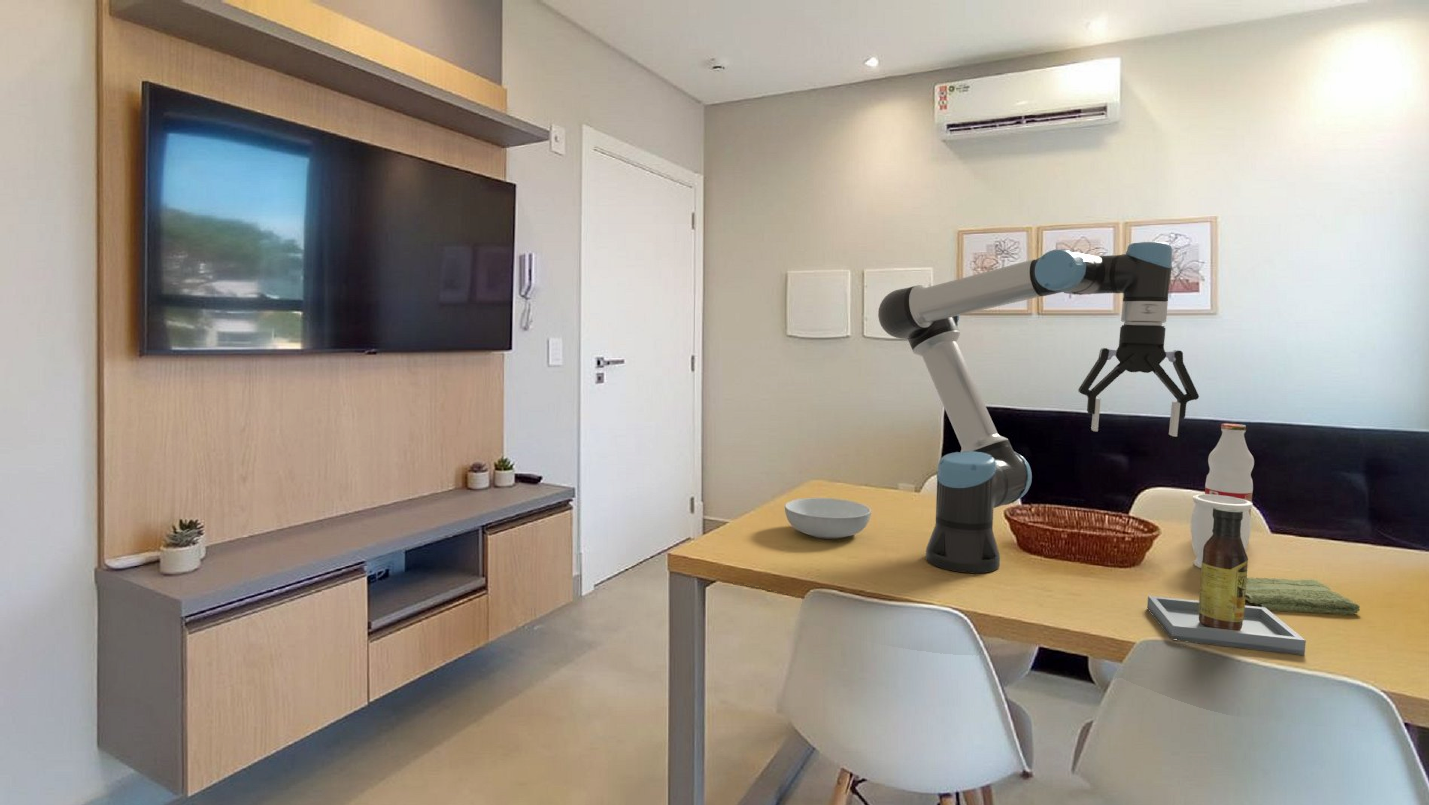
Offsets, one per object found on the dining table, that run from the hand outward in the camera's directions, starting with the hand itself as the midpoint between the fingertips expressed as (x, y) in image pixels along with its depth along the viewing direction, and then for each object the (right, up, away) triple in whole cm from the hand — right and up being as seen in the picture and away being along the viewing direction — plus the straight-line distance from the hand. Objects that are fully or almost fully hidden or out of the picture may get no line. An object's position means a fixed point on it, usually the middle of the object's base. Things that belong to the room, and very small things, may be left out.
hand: (1133, 433), depth 140 cm
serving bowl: (-55, -27, +36) cm, 70 cm away
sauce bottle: (+3, -32, -20) cm, 38 cm away
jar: (+25, -30, +12) cm, 41 cm away
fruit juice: (+44, -27, +36) cm, 63 cm away
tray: (+3, -32, -20) cm, 38 cm away
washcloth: (+25, -32, -6) cm, 41 cm away
